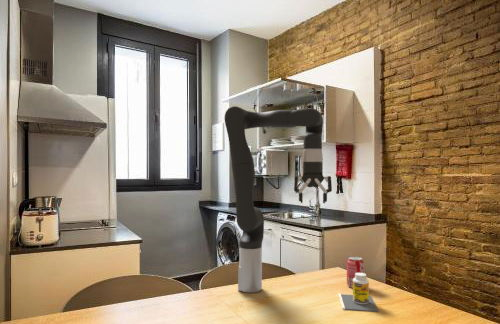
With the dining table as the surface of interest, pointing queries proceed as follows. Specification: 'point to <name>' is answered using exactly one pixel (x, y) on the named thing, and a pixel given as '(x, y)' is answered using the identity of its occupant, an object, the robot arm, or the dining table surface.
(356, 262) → the soda can
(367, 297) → the supplement bottle
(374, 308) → the mat
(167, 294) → the dining table surface
